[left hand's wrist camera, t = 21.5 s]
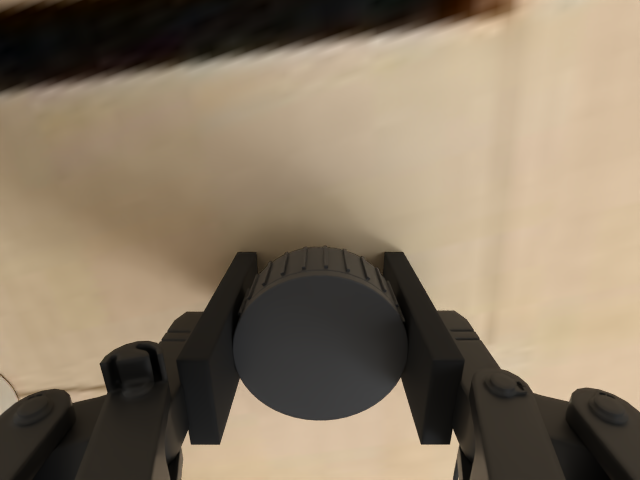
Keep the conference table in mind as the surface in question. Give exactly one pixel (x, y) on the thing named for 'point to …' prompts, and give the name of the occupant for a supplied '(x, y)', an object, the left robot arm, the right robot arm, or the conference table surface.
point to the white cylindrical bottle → (6, 395)
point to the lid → (320, 335)
